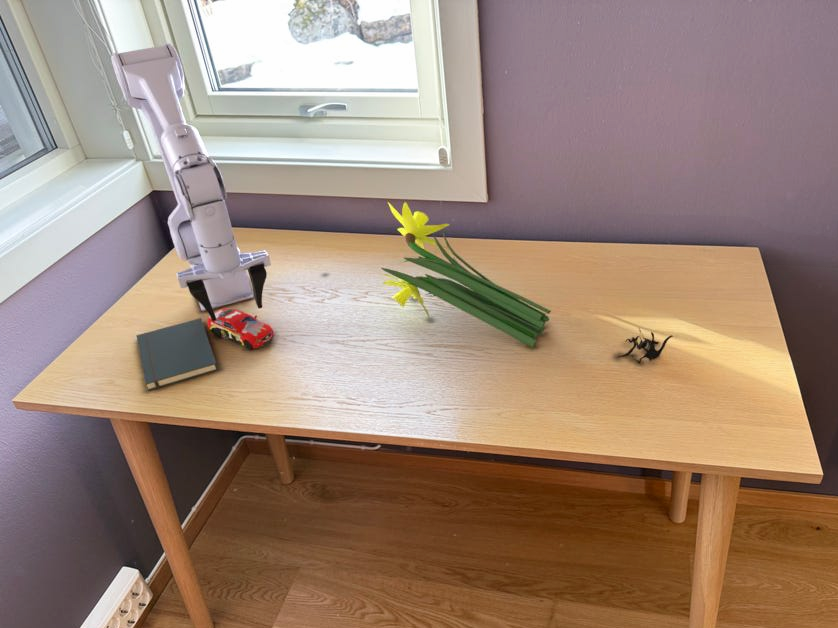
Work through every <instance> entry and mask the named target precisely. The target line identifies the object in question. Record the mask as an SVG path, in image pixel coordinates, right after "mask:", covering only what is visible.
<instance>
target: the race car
mask: <svg viewBox="0 0 838 628" xmlns="http://www.w3.org/2000/svg"><path fill="white" fill-rule="evenodd" d="M214 313H215V316H216V321H212V319H211V317H210V315H209V316H208V317H207V328H208V330H209V332H210V333H211V334H213V335H214V337H216V338H223V339H225V340H228V341H230V342H232V343H236V344H238V345H241V346H244V347H245V348H246V349H248V350H250V351H251V350H253V349H257V348H261V347H264V346H265V345H268V344H269V343H270V342H271V341H273V340H274V336H275V333H274V328H273V327H272V326H271V325H270V324H268V323H265V322H263V321H261V320H259V319H258V315H255V316H253V315H251V314H249V313H246V312H245V311H242V310H239V309H234V308H220V309H218V310H216V311H214Z"/></svg>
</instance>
